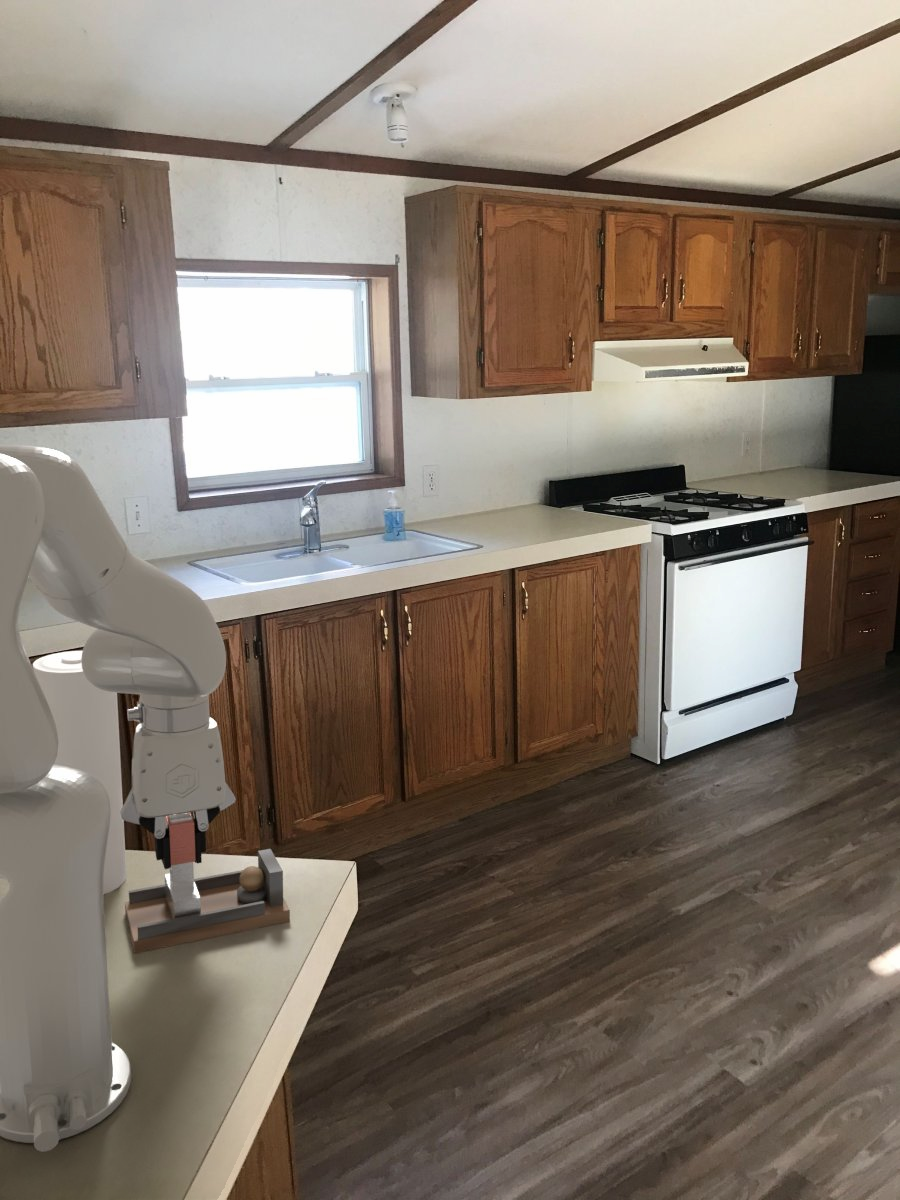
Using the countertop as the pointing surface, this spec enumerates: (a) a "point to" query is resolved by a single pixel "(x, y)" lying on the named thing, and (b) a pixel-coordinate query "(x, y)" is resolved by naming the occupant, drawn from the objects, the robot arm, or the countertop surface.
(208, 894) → the nutcracker board
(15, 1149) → the countertop surface
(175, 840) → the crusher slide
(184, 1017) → the countertop surface
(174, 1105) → the countertop surface
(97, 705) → the cylinder container
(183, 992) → the countertop surface
